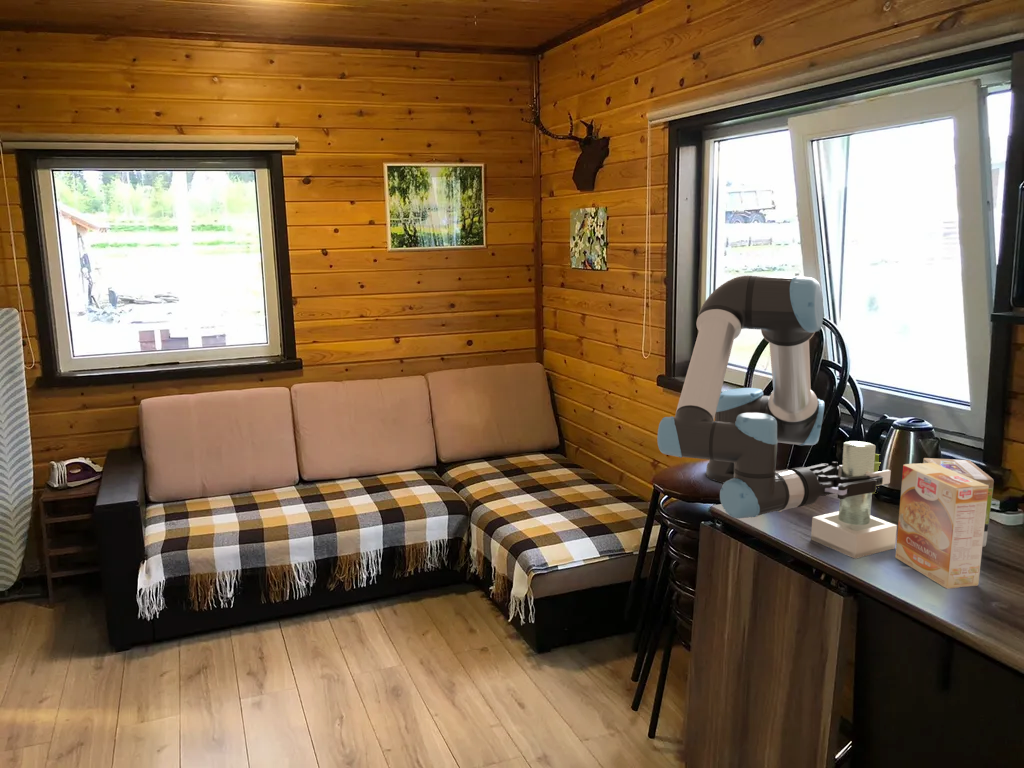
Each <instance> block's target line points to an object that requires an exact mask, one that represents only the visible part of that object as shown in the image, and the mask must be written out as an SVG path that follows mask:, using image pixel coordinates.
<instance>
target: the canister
mask: <svg viewBox="0 0 1024 768" xmlns="http://www.w3.org/2000/svg"><path fill="white" fill-rule="evenodd" d="M876 448H877V447H876V445H875V444H873V443H871V442H868V441H867V442H866V441H860V440H859V441H858V440H849V441H845V442H843V447H842V449H843V450H842V461H841V462H842V464H841V465H842V475H841V477H856V476H865V474H867V473H872V472H874V461H875V454H876ZM872 496H873V494H872V493H867V494H861V495H855V496H849V497H846V498H844V499H839V505H838V511H839V517H838V518H839V520H840V521H842V522H845V523H848V524H853V525H865V524H868V523H869V522H870V515H871V510H872V509H871V508H872Z"/></svg>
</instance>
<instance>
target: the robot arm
mask: <svg viewBox="0 0 1024 768" xmlns="http://www.w3.org/2000/svg"><path fill="white" fill-rule="evenodd" d="M823 298H824V297H823V291H822V286H821V284H820V283H819V281H818V280H817V279H816V278H814V277H809V276H801V275H794V276H790V275H789V276H787V275H784V276H779V275H777V276H775V275H767V276H766V275H741V276H737V277H734V278H732V279H729V280H728V281H726V282H724V283H723V284H721V285H720V286H718V287H717V288H716V289H715V290H714V291H713V292H712V293H711V294H710V295H709V296H708V297H707V298H706V300H705V301H704V302H703V304H702V306H701V308H700V310H699V313H698V316H697V318H696V321H695V322H696V328H697V330H698V333H697V337H696V339H695V340H696V341H695V344H694V347H693V350H692V355H691V358H690V362H689V365H688V368H687V371H686V375H685V378H684V382H683V386H682V390H681V391H680V392H681V393H680V396H679V399H678V403H677V407H676V411H675V415H674V416H665V417H663V418H662V419H661V420H660V422H659V424H658V429H657V446H658V450H659V451H660V452H661V453H662V455H668V456H672V457H677V458H688V459H689V458H691V459H701V460H709V461H708V462H707V465H706V473H705V475H706V477H707V478H708V479H711V480H712V481H715V482H719V483H721V484H722V483H723V484H722V486H721V488H720V491H719V502H720V503H721V506H722V508H723V510H724V511H725V512H726V514H727V515H729V516H730V517H732V518H735V519H745V518H755V517H758V516H762V515H765V514H769V513H770V514H771V513H775V512H778V513H782V512H783V511H785V510H789V509H795V508H801V507H806V506H810V505H812V504H814V503H816V502H817V500H818V499H819V497H821V496H822V497H823V496H828V495H834V494H835V495H837V499H838V500H840V499H844V498H846V497H849V496H855V495H861V494H867V493H873V492H876V486H882V485H883V486H884V485H888V484H890V483H891V472H892V471H891V469H884V470H882V471H877V472H872V473H867V474H865V476H856V477H841V475H842V464H839V465H838V461H831V465H829V463H819V464H815V465H811V466H807V467H806V466H799V467H792V468H788V469H787V468H786V469H781V470H777V469H776V464H777V454H778V453H777V452H778V443H782V444H789V445H797V446H814V445H816V444H818V443H819V440H820V436H821V430H822V424H823V419H824V412H825V407H826V406H825V401H824V400H823V399H820V398H818V397H817V395H816V393H815V391H813V390H812V388H811V387H812V386H811V358H810V357H811V356H810V355H811V354H810V340H811V338H812V337H813V336H814V335H815V333H816V332H820V330H821V329H822V326H823V322H824V299H823ZM745 329H746V330H747V329H748V330H760V331H761V334H762V336H763V338H764V340H765V341H766V342H768V344H769V355H770V366H771V377H772V378H771V379H772V387H773V391H772V393H771V394H770V395H764V392H763V389H761V388H757V387H742V388H741V387H740V388H732V389H728V390H727V389H726V390H725V391H724V390H723V391H722V389H723V384H724V381H725V376H726V373H727V369H728V364H729V359H730V356H731V353H732V348H733V344H734V340H736V339H737V338H738V337H739V336H740V334H741V331H742V330H745Z"/></svg>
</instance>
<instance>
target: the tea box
mask: <svg viewBox="0 0 1024 768" xmlns="http://www.w3.org/2000/svg"><path fill="white" fill-rule="evenodd" d="M922 463H935V464H938V465H940V466H942V467H945V468H947V469H950V470H952V471H954V472H957V473H959V474H962V475H964V476H966V477H969V478H971V479H974V480H976V481H978V482H981V483H983V484H986V485H989V488H988V498H987V508H986V517H985V527H984V536H983V545H982V548H984V547H986V545H987V541H988V535H989V534H988V533H989V532H988V531H989V524H990V515H991V508H992V498H993V493H994V483H995V481H994V480H995V479H994V478H992V477H991V476H990V475H989V474H988V473H986V472H985V471H983V469H981V468H980V467H979V466H978V465H976V464H975V463H974V462H972V461H971V460H969V459H968V460H966V459H953V458H952V459H950V458H930V457H924V458H923V461H922Z"/></svg>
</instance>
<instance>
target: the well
mask: <svg viewBox="0 0 1024 768" xmlns="http://www.w3.org/2000/svg"><path fill="white" fill-rule="evenodd" d="M838 517H839V510H838V511H833V512H829V513H825V514H820V515H817V516H812V517H811V518H812V519H811V533H810V534H811V535H810V540H811V541H813V542H816V543H817V544H818V543H819V544H820V545H823V546H825V547H828V549H829V548H830V549H832V550H834V551H836V552H838V553H840V554H843V555H846V556H848V557H850V558H852V559H861V558H863V557H867V556H872V555H874V554H879V553H883V552H886V551H891V550H894V549H896V544H897V532H898V524H896V523H893V522H889V521H887V520H884V519H881V518H879V517H875V516H873V515H871V514H870V522H869V523H868V524H865V525H853V524H848V523H845V522H842V521H840V520H839V518H838Z"/></svg>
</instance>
